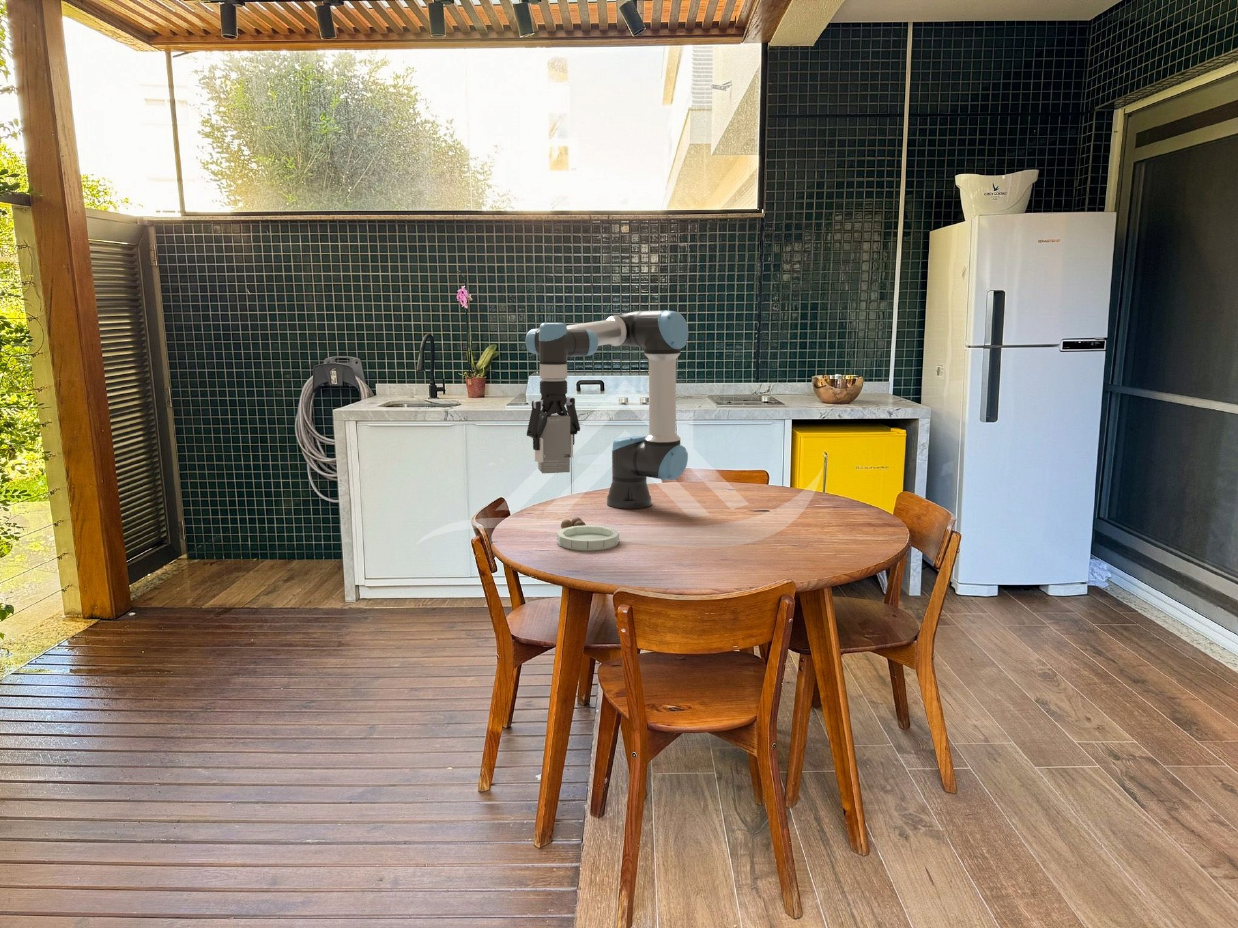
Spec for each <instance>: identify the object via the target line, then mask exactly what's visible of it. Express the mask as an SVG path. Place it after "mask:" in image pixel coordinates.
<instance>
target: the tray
mask: <svg viewBox="0 0 1238 928" xmlns="http://www.w3.org/2000/svg"><path fill="white" fill-rule="evenodd" d="M556 540H557V544H558V546H559V547H561V548H563V549H567V550H572V551H581V552H593V551H595V552H597V551H598V552H599V551H604V550H609V549H612V548H615V547H616V546H618V544H619V541H620V532H619V530H616V529H615V528H613V527H608V526H603V525H590V524H589V525H587V524H586V525H584V526H572V527H568V528H564V529H562V528H560V529H559V530H558V531H557V532H556Z"/></svg>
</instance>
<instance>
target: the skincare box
mask: <svg viewBox="0 0 1238 928" xmlns="http://www.w3.org/2000/svg"><path fill="white" fill-rule="evenodd" d="M543 418H544V416H542V420H543ZM541 438H542V439H543V462H537V469H538V470H539V471H540V472H541V473H542V474H559V473H561V474H562V473H570V472H571V458H570V417H569V416H562V415H558V414H552V415H551V416H550V417H547V424H546V426H545V428H544V431H543V433H542V435H541Z"/></svg>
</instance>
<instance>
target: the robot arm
mask: <svg viewBox="0 0 1238 928" xmlns="http://www.w3.org/2000/svg"><path fill="white" fill-rule="evenodd" d="M688 340H689V327H688V324H687V321H686V318H684V316H683V315H682V314H681V313H680V312H677V311H673V310H666V309H665V310H635V311H630V312H625V313H620V314H617V315H611V316H609V317H608V318H607V319H603V320H600V321H599V320H597V321H591V322H584V323H578V324H577V323H576V324H568V325H567V323H564V322H542V323H541V324H540V325H539V327H538V328H532V329H530V330H529V331H527V334H526V336H525V346H526V350H527V351H528V352H529V353H531V354H533V355H537V356H539V378H540V379H541V380H540V381H539V393H540V396H541V397H540V399H539V400H532V401H531V413H530V416H529V419H528V420H529V421H528V425H527V431H526V436H527V437H530V438H531V439H532V448H533V449H532V450H533V451H534V462H537V463H538V462H543V439H542V438H541V435H542V433H543V431H544V428H545V426H546V424H547V417H550V416H551V415H562V416H569V417H570V459H571V458H574V446H575V441H576V440H575V435H578V432H580V431H581V425H580V422H579V417H578V413H577V410H576V409H577V408H576V399H575V397H570V396H566V395H567V393H568V381H567V380H566V379H567V378H568V358H569V357H570V358H573V357H574V358H575V357H584V358H585V357H589V356H592V355H594V354H596V352H597V350H598V347H599V346H605V345H610V346H613V347H619V346H627V347H637V348H643V353H644V356H645V357H647V359H648V398H649V399H648V405H649V406H648V411H649V412H648V414H649V415H648V417H649V418H648V419H649V420H648V424H649V425H648V432H649V433H648V434H647V435H635V436H634V435H633V436H623V437H618V438H616V439H614V440H613V442H612V449H611V460H612V461H611V462H612V463H611V470H612V471H611V472H612V473H611V475H612V479H611V481H612V482H611V484H610V488H609V492H608V494H607V497H606V504H607V505H608V506H609V507H612V508H616V509H625V510H626V509H627V510H628V509H631V510H634V509H636V510H637V509H643V508H648V507H651V506H652V496H651V495H650V491H649V486H648V483H647V478H653V479H658V480H662V481H675V480H678V478H680V477H681V476H682V475H683V473H684V472H685V470H686V468H687V465H688V460H689V454H688V453H689V452H688V451H687V448H686V447H685V446H683V445H682V444H681V437H680V436H679V435H678V434H677V431H676V430H677V427H676V425H677V423H676V421H677V419H676V418H677V417H676V415H677V413H676V411H677V410H676V409H677V406H676V405H677V403H676V402H677V395H676V392H677V388H676V387H677V365H676V364H677V358H679V356H680V355H681V351H682V348H684V347H685V346H686V345H687V342H688ZM542 416H544V418H543V420H542Z"/></svg>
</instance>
